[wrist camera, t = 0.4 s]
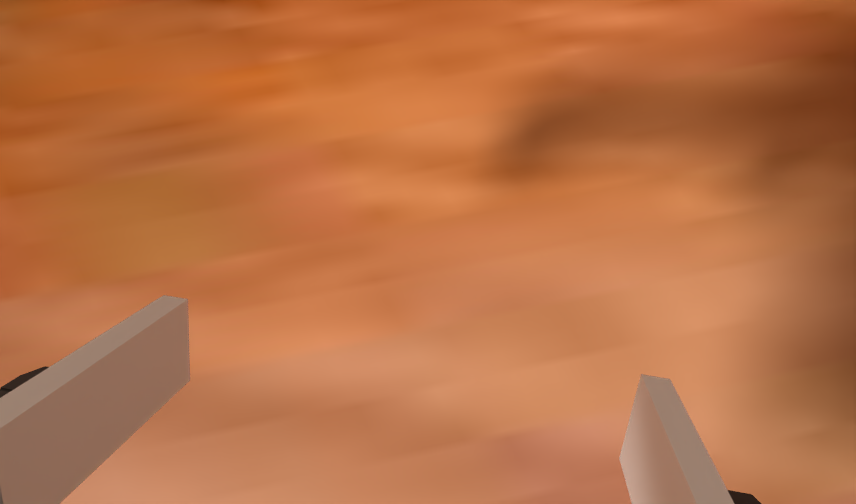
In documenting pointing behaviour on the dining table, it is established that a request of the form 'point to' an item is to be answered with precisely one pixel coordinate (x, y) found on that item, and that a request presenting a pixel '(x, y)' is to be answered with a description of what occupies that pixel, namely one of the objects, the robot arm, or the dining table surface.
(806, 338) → the dining table surface
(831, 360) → the dining table surface
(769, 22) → the dining table surface
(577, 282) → the dining table surface
